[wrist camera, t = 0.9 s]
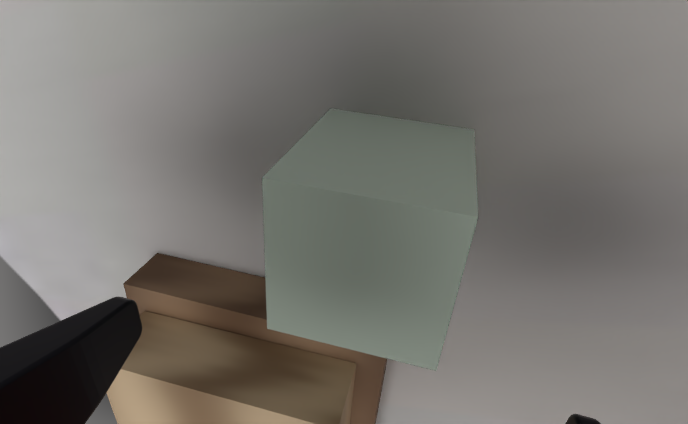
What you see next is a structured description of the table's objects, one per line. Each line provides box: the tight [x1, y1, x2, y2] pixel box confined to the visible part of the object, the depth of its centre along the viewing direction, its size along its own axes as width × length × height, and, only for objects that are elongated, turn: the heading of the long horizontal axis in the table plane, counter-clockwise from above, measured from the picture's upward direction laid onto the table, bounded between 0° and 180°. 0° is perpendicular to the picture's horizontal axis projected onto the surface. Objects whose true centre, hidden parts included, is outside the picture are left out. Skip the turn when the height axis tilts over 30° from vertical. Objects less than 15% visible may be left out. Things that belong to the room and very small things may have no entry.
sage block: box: [262, 109, 478, 371], centre depth 13 cm, size 5×5×6 cm
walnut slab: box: [124, 253, 387, 424], centre depth 22 cm, size 12×12×3 cm
